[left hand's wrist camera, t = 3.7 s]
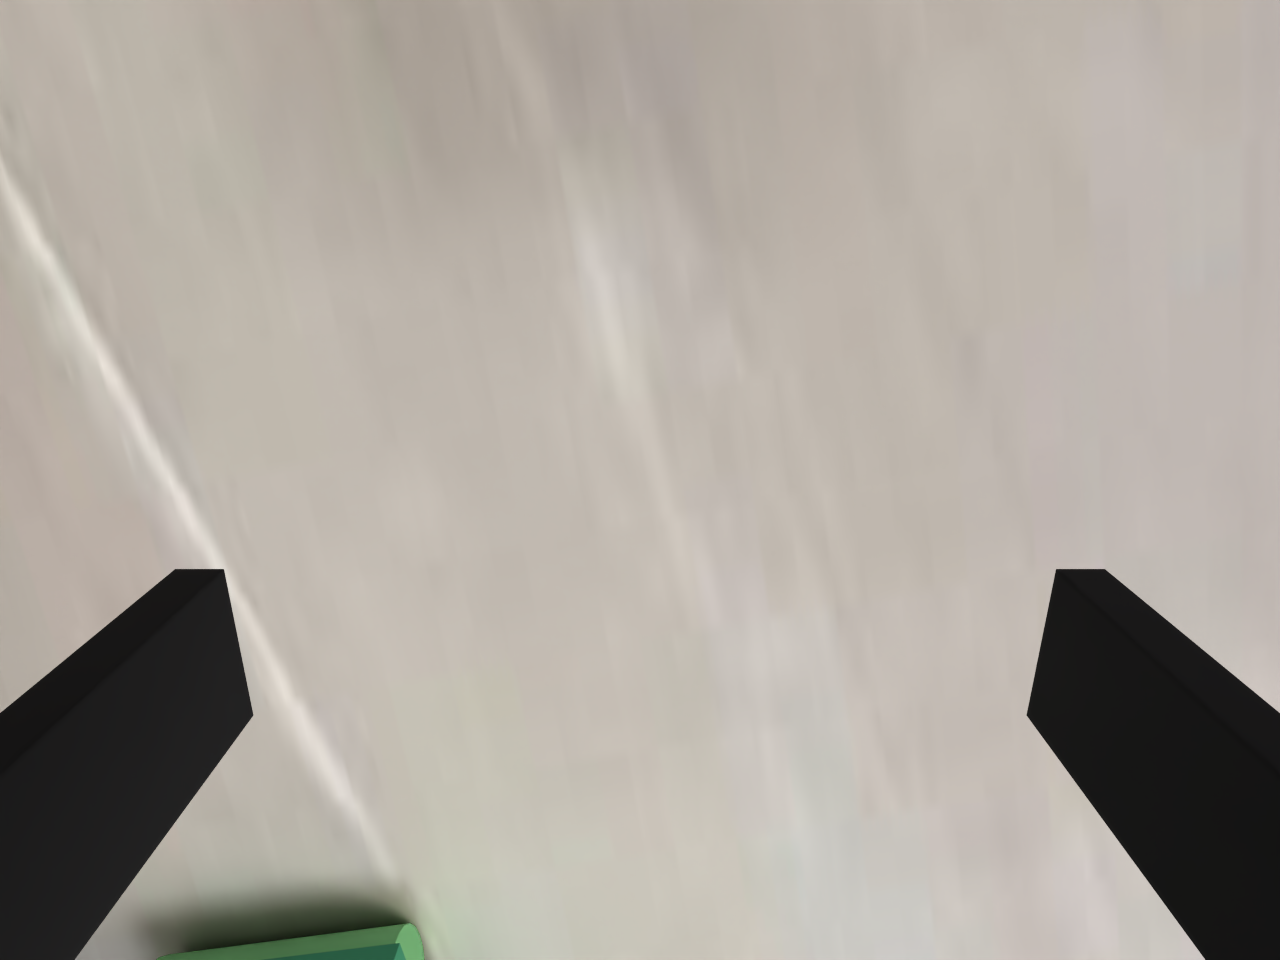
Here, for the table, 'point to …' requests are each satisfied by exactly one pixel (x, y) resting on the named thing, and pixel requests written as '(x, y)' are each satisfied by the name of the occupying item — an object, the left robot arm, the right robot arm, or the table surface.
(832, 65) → the table surface
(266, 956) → the toy tank
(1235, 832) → the left robot arm
